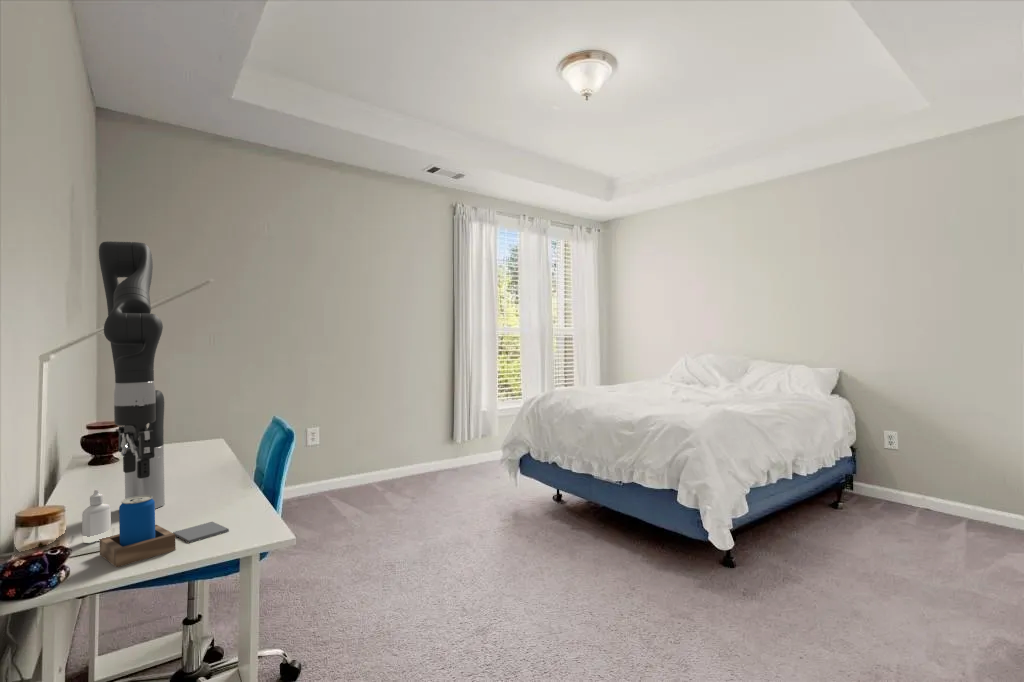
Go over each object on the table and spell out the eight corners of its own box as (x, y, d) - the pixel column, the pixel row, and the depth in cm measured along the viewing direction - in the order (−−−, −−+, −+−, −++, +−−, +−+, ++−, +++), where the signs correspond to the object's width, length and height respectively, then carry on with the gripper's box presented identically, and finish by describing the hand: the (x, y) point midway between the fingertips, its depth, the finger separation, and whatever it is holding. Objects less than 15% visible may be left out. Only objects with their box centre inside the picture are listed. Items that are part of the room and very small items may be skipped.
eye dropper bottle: (113, 538, 125) (113, 488, 125) (84, 545, 121) (83, 494, 121) (109, 534, 128) (108, 485, 128) (80, 541, 124) (79, 490, 124)
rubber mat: (173, 534, 127) (173, 532, 127) (212, 523, 134) (212, 521, 134) (188, 542, 122) (188, 540, 122) (228, 531, 129) (228, 528, 129)
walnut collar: (99, 554, 115) (99, 539, 115) (156, 539, 124) (156, 524, 124) (116, 567, 109) (116, 550, 109) (175, 549, 118) (175, 534, 118)
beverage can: (150, 544, 121) (149, 492, 121) (159, 551, 117) (158, 498, 117) (116, 553, 116) (115, 499, 116) (124, 561, 112) (123, 505, 112)
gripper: (104, 402, 118) (105, 474, 118) (126, 406, 109) (127, 483, 109) (143, 398, 124) (144, 467, 124) (166, 402, 115) (168, 475, 115)
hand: (136, 474), depth 116 cm, fingers open, 8 cm apart
